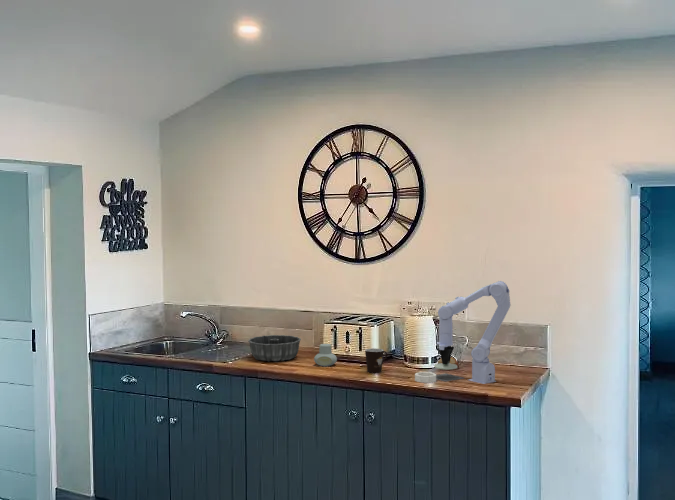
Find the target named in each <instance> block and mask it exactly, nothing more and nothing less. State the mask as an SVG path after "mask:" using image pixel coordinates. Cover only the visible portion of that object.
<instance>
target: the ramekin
mask: <svg viewBox="0 0 675 500" xmlns="http://www.w3.org/2000/svg"><path fill="white" fill-rule="evenodd" d="M436 375H437V373H434V372H429V371H428V372H427V371H422V372H421V371H420V372H416V373H414V382H418V383H423V384H424V383H426V384H427V383H430V384H431V383H436V382H437V379H436Z"/></svg>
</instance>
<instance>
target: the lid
mask: <svg viewBox="0 0 675 500" xmlns="http://www.w3.org/2000/svg"><path fill="white" fill-rule="evenodd" d="M433 365H434V366H433V367H434V368H435V369H438V370H441V369H444V370H443V371H452V370H451V369H457V365H455V364H450V363H449V364H447V365H444V364H442V363H439V364H438V363H435V364H433ZM457 370H458V369H457Z"/></svg>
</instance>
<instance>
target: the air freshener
mask: <svg viewBox="0 0 675 500" xmlns="http://www.w3.org/2000/svg"><path fill="white" fill-rule="evenodd" d="M332 347H333V346H332V344H330V343H321V344H319V347H318V348H319V351H318V353H317V354H316V355H315V356H314V357H313V360H314V363H315V364H316V365H318V366H320V367H324V368H325V367H331V366H333V365H335V364H336V362H338V357H337V356H336V355H335V354H334V353H333V351H332V350H333V349H332Z"/></svg>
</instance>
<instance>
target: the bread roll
mask: <svg viewBox="0 0 675 500" xmlns="http://www.w3.org/2000/svg"><path fill="white" fill-rule="evenodd" d="M439 363H442V359H441V358H440V359H439V360H438V361H437V364H439ZM450 364H455V365H457V369H451V370H450V371H455V370H459V368H460V365H459V362H458V360H456V358H455V357H453V356H451V358H450ZM440 370H442V371H445V370H444V369H440Z"/></svg>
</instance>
